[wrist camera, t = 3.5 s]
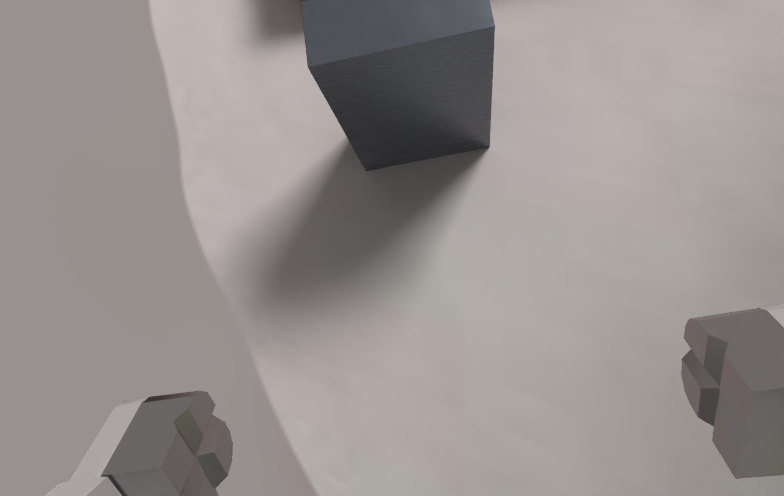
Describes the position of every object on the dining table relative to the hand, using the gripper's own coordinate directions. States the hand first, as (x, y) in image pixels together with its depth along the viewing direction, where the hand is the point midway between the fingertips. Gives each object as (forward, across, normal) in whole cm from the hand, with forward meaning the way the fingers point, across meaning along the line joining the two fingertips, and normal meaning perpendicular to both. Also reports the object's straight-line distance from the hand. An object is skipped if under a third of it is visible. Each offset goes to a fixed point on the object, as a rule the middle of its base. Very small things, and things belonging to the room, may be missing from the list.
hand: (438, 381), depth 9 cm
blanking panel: (+18, 0, +2) cm, 18 cm away
